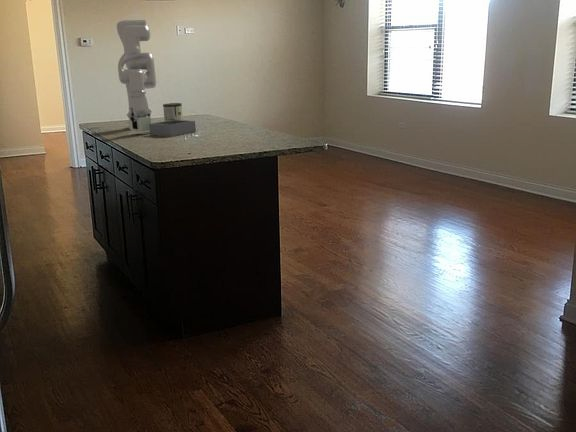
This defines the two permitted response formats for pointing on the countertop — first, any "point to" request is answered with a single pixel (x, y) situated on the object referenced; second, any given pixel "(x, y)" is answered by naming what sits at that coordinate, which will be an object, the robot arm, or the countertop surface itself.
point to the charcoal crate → (172, 128)
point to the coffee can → (172, 111)
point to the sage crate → (141, 123)
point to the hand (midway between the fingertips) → (140, 127)
